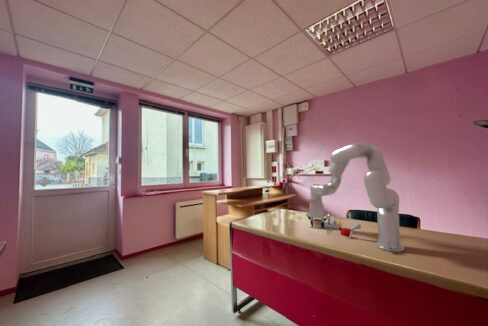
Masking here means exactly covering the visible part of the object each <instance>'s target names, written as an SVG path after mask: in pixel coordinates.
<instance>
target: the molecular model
mask: <svg viewBox="0 0 488 326" xmlns="http://www.w3.org/2000/svg"><path fill="white" fill-rule="evenodd" d="M336 223H337V221H336V220H335V219H331V221H330V224H331V225H333V226H335V228H337V229H338V230H339V231H340V236H344V237H346V238H349V237H350V236H351V233H352V232H353V231H355V230H360V229H361V228H362V225H361V224H360V223H357V222H355V223H354V225H353V226H352V227H350V228H346V227H344V228H343V227H341V226H340V225H339V224H338V223H337V224H336Z"/></svg>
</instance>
